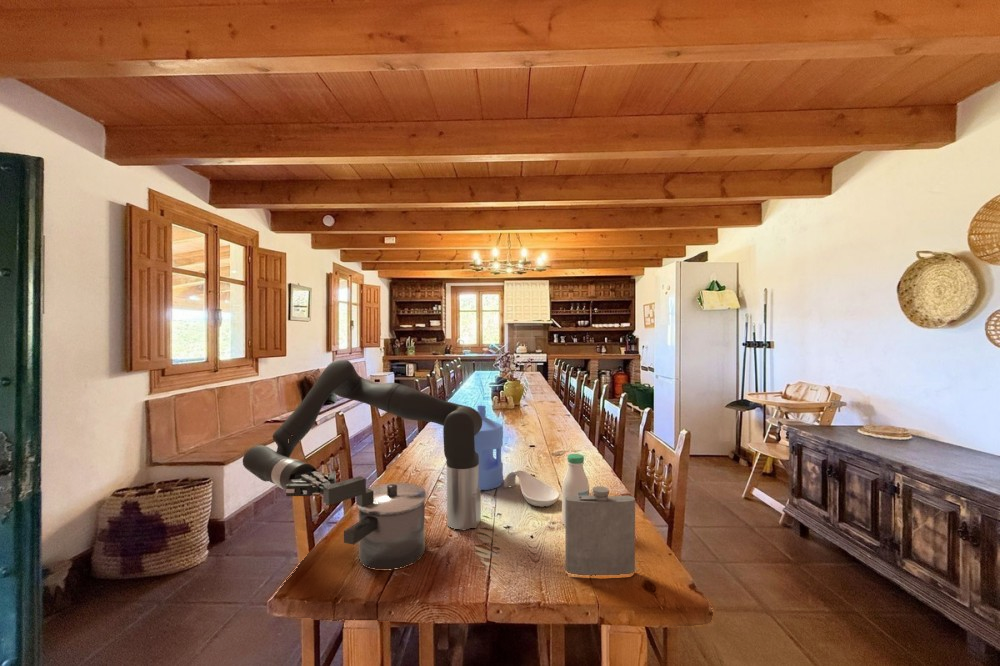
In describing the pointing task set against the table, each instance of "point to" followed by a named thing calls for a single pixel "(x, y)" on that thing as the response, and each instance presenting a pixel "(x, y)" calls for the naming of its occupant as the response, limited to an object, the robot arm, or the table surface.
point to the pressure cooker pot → (389, 538)
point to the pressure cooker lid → (376, 496)
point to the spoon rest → (533, 489)
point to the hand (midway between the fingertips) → (332, 491)
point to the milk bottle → (574, 480)
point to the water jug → (489, 452)
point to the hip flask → (600, 534)
